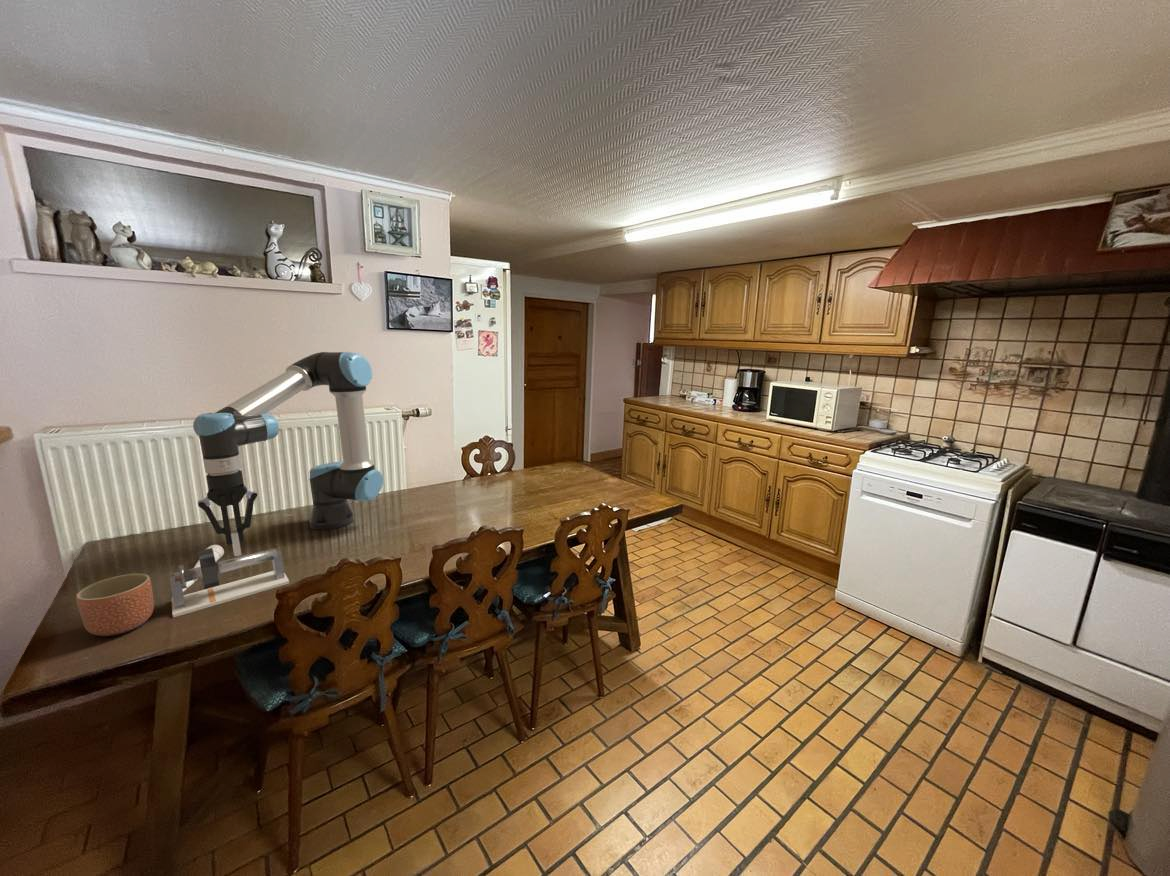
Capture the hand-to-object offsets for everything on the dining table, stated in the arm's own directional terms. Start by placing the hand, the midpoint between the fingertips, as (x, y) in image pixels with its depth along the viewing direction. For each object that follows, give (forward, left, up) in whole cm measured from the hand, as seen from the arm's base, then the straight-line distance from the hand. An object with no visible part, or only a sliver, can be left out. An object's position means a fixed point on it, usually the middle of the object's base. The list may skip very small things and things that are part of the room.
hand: (237, 553), depth 126 cm
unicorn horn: (-20, -8, -11) cm, 24 cm away
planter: (+2, -24, -11) cm, 26 cm away
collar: (0, -6, -6) cm, 9 cm away
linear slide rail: (0, -2, -11) cm, 11 cm away
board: (0, -2, -11) cm, 11 cm away
